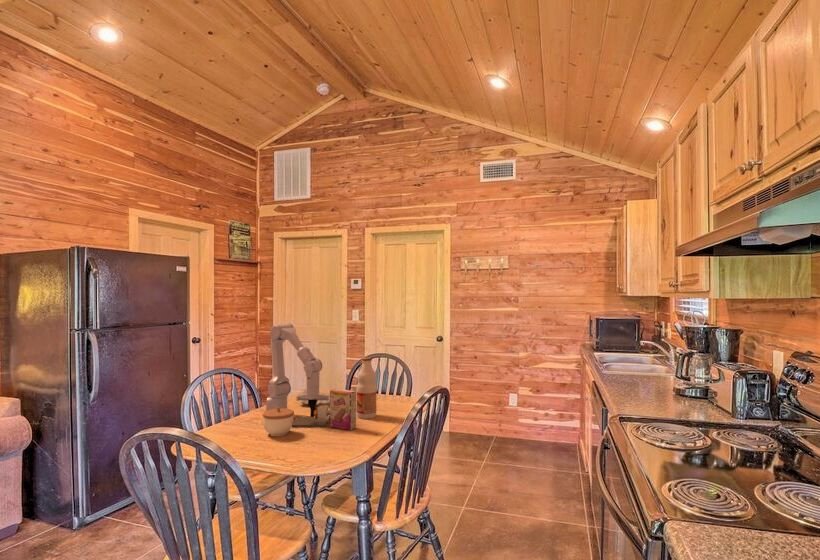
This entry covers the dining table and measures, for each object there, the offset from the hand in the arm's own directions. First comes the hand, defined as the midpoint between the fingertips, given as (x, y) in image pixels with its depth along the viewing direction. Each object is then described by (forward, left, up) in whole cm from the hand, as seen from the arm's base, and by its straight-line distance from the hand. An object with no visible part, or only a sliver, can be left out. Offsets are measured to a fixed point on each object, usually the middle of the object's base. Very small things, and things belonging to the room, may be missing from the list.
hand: (312, 416), depth 212 cm
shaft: (+5, 0, -1) cm, 6 cm away
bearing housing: (-1, 0, -3) cm, 3 cm away
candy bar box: (+15, -8, -3) cm, 17 cm away
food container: (0, +31, -3) cm, 31 cm away
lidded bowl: (-11, -16, -3) cm, 20 cm away
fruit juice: (+24, +10, -3) cm, 26 cm away
